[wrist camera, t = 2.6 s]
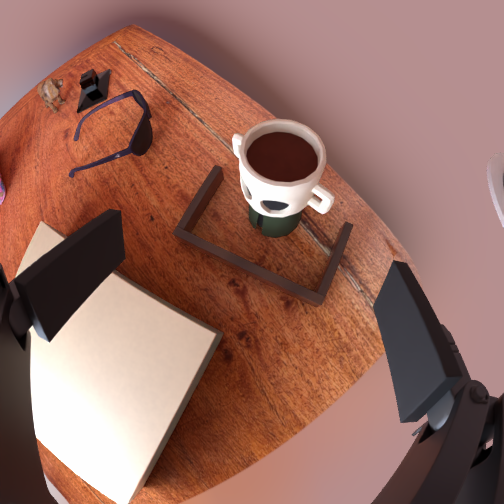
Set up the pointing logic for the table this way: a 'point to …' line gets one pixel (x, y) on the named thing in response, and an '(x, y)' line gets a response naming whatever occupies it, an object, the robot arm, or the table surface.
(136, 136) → the sunglasses
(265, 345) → the table surface
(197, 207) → the dark brown u-shaped bracket
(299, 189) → the character mug
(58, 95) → the lion figurine
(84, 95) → the build plate
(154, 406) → the cream square platform
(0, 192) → the pencil case
